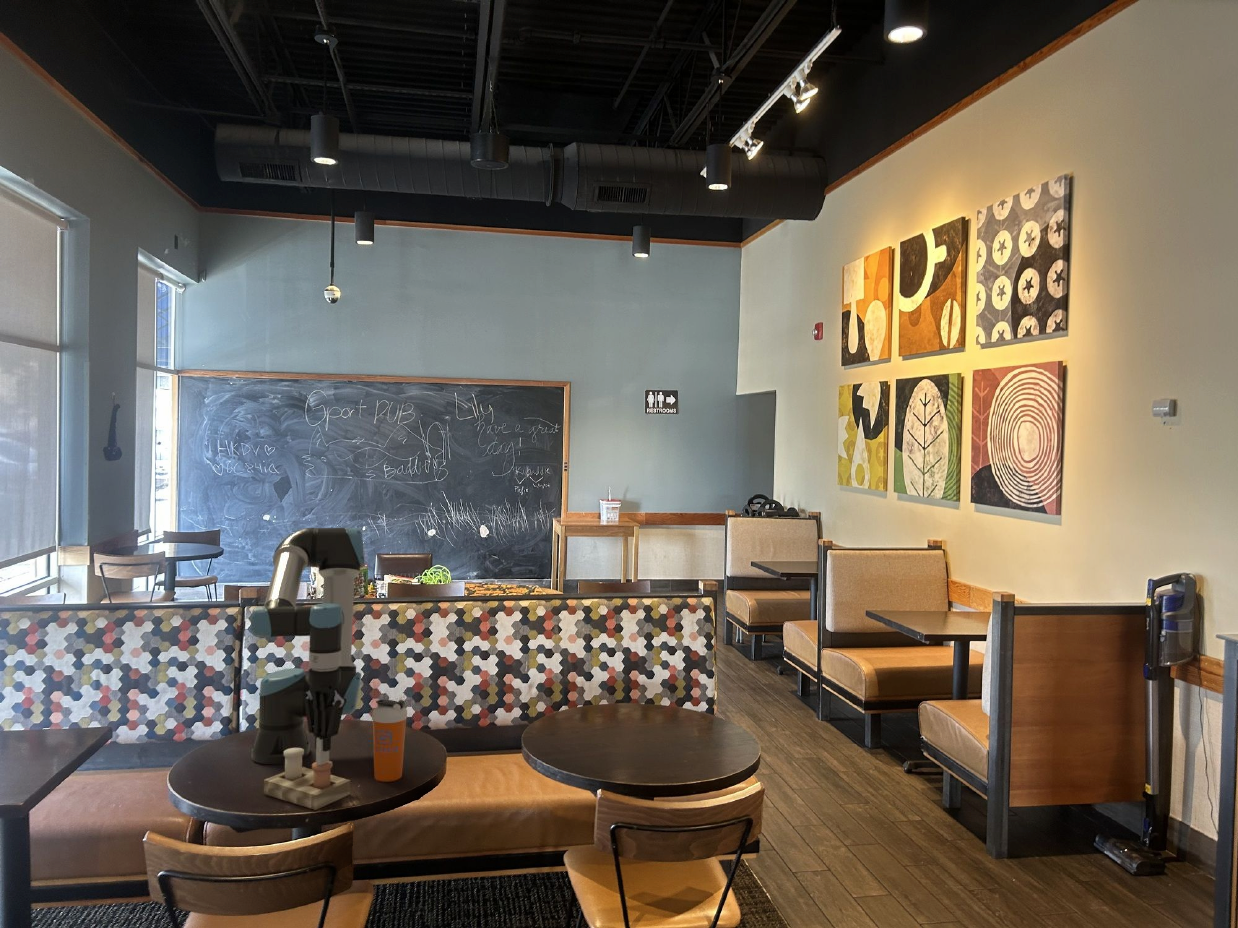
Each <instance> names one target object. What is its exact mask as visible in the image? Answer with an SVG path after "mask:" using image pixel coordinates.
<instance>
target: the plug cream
mask: <svg viewBox="0 0 1238 928" xmlns="http://www.w3.org/2000/svg"><path fill="white" fill-rule="evenodd" d="M303 754H304V749H302V748H290V749H287V750H285V751H284V757H285V763H284V772H285V779H286V780H290V781H294V780H297V779H299V778H302V767H303V758H302V755H303Z"/></svg>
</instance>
